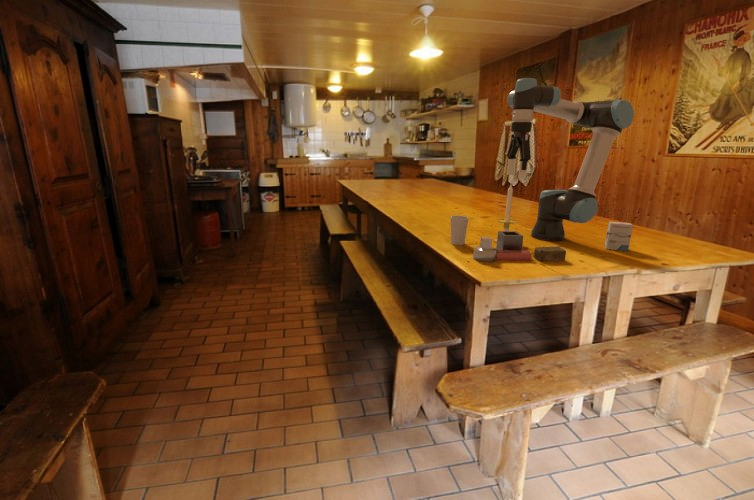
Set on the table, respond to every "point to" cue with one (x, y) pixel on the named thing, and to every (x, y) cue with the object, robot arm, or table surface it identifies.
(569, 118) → the robot arm
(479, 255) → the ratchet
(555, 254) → the stone block
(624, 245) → the ink box
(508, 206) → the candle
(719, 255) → the table surface
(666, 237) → the table surface
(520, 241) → the socket
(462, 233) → the cup
